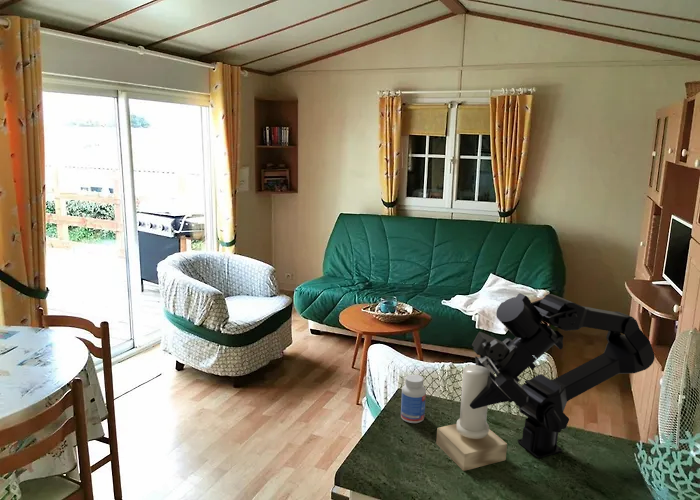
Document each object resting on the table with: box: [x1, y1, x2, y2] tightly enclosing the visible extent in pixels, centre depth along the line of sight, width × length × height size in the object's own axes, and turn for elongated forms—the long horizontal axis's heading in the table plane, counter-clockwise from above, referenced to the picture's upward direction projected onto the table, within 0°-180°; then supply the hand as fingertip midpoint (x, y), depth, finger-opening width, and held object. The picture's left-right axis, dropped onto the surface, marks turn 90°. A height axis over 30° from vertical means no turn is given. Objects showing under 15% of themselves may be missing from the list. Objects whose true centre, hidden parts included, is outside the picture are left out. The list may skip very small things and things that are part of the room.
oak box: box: [435, 423, 508, 472], centre depth 110 cm, size 10×10×4 cm
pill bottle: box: [400, 374, 427, 424], centre depth 122 cm, size 6×5×10 cm
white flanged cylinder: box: [456, 364, 490, 439], centre depth 108 cm, size 6×6×13 cm
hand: (467, 400), depth 108 cm, fingers closed on white flanged cylinder, 5 cm apart
